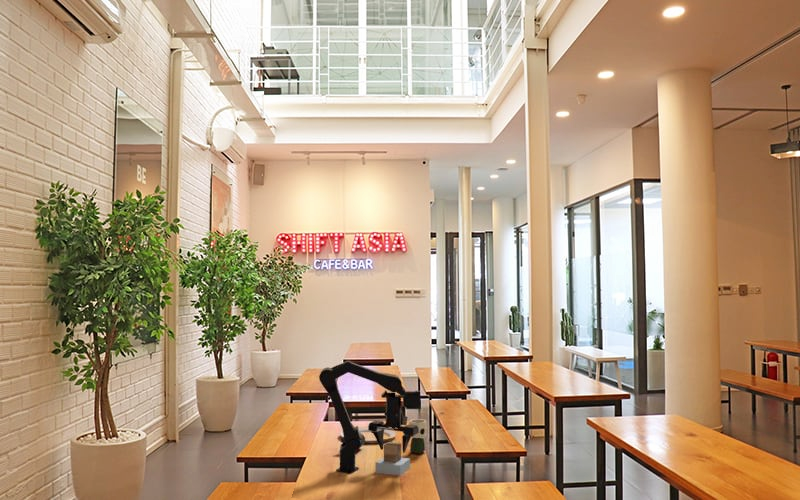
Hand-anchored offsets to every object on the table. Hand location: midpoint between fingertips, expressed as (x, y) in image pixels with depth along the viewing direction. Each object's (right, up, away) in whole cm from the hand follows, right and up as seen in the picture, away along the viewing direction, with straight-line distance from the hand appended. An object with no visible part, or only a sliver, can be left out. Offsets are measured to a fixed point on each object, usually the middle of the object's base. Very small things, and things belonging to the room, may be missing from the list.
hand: (392, 451), depth 233 cm
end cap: (-17, -8, +25) cm, 31 cm away
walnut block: (0, -4, 0) cm, 4 cm away
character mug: (+10, -9, +24) cm, 27 cm away
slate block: (0, -8, 0) cm, 8 cm away
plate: (-12, -10, +48) cm, 50 cm away
